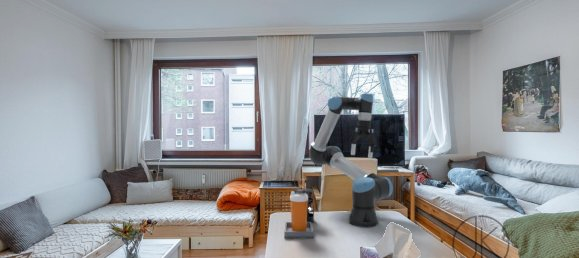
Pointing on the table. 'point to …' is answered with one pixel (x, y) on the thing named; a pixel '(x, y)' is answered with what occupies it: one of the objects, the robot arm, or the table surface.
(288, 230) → the tray
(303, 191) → the shaker bottle
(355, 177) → the robot arm
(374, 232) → the table surface
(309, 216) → the french press
